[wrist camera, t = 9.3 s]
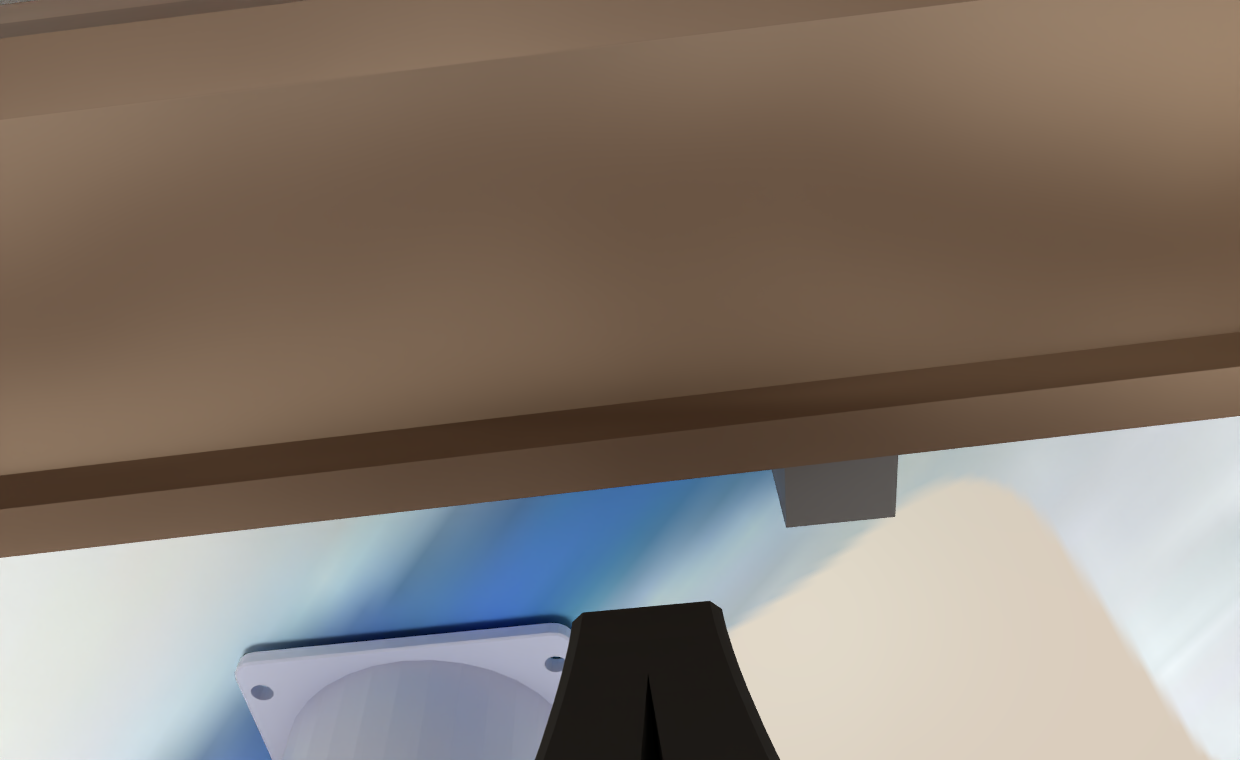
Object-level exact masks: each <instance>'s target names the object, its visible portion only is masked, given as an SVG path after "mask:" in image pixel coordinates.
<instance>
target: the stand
mask: <svg viewBox="0 0 1240 760" xmlns="http://www.w3.org/2000/svg"><path fill="white" fill-rule="evenodd" d="M897 467H898V455H893V456H885V457H876V458H867V459H858V460H850V461H841V462H832V463H824V464H815V465H806V466H797V467H789V468H780V469H772V473H773V477H774V481H775V485H776V489H777V493H778V497H779V501H780V505H781V509H782V513H783V517H784V521H785V525H786V528H787V527H797V526H807V525H817V524H827V523H837V522H847V521H857V520H867V519H877V518H887V517H895V508H896V488H897Z"/></svg>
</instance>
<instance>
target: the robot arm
mask: <svg viewBox="0 0 1240 760" xmlns="http://www.w3.org/2000/svg"><path fill="white" fill-rule="evenodd" d="M554 656H556V657H561V658H560V659H552V658H550V657H554ZM235 679H236V681H237V683H238V685H239V687H240V690H241V692H242V694H243V696H244V699H245V701H246V703H247V705H248V707H249V710H250V712H251V714H252V716H253V718H254V721H255V723H256V725H257V727H258V729H259V732H260V734H261V736H262V738H263V740H264V743H265V745H266V747H267V749H268V752H269V754H270V756H271V758H272V760H780V759H779V757H778V755H777V753H776V751H775V748H774V746H773V744H772V742H771V740H770V738H769V736H768V734H767V732H766V729H765V727H764V725H763V723H762V721H761V718H760V716H759V714H758V711H757V709H756V707H755V705H754V702H753V700H752V698H751V695H750V693H749V691H748V688H747V686H746V683H745V681H744V678H743V675H742V673H741V671H740V668H739V665H738V662H737V660H736V657H735V654H734V651H733V648H732V645H731V642H730V638H729V635H728V632H727V629H726V625H725V621H724V616H723V612H722V609H721V608H720V607H718V606H717V605H715V604H714V603H712V602H711V601H704V602H694V603H683V604H672V605H661V606H650V607H639V608H628V609H617V610H607V611H596V612H585V613H582V614H581V615H580V616H579V617H578V618H576V619H575V620H574V621H573V622H572V627H571V629H569V628H568V627H567V626H565V625H562V624H559V623H544V624H534V625H524V626H514V627H504V628H494V629H483V630H473V631H463V632H453V633H443V634H432V635H422V636H412V637H402V638H392V639H382V640H371V641H361V642H351V643H341V644H331V645H320V646H310V647H300V648H290V649H280V650H270V651H259V652H252V653H248V654H245V655H244V656H243V657H241V658H240V660H239V663H238V665H237V668H236V671H235ZM262 685H265V686H267V687H264V686H262Z"/></svg>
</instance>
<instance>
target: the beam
mask: <svg viewBox="0 0 1240 760" xmlns="http://www.w3.org/2000/svg"><path fill="white" fill-rule="evenodd" d="M1234 416H1240V0H36V1H28V2H20V3H12V4H4V5H0V558H2V557H11V556H20V555H29V554H37V553H46V552H55V551H64V550H72V549H81V548H90V547H99V546H107V545H116V544H125V543H133V542H142V541H151V540H160V539H168V538H177V537H186V536H195V535H203V534H212V533H221V532H230V531H238V530H247V529H256V528H264V527H273V526H282V525H291V524H299V523H308V522H317V521H326V520H334V519H343V518H352V517H361V516H369V515H378V514H387V513H395V512H404V511H413V510H422V509H430V508H439V507H448V506H457V505H465V504H474V503H483V502H492V501H500V500H509V499H518V498H527V497H535V496H544V495H553V494H561V493H570V492H579V491H588V490H596V489H605V488H614V487H623V486H631V485H640V484H649V483H658V482H666V481H675V480H684V479H692V478H701V477H710V476H719V475H727V474H736V473H745V472H754V471H762V470H771V469H780V468H789V467H797V466H806V465H815V464H824V463H832V462H841V461H850V460H858V459H867V458H876V457H885V456H893V455H902V454H911V453H920V452H928V451H937V450H946V449H955V448H963V447H972V446H981V445H989V444H998V443H1007V442H1016V441H1024V440H1033V439H1042V438H1051V437H1059V436H1068V435H1077V434H1086V433H1094V432H1103V431H1112V430H1120V429H1129V428H1138V427H1147V426H1155V425H1164V424H1173V423H1182V422H1190V421H1199V420H1208V419H1217V418H1225V417H1234Z"/></svg>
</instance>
